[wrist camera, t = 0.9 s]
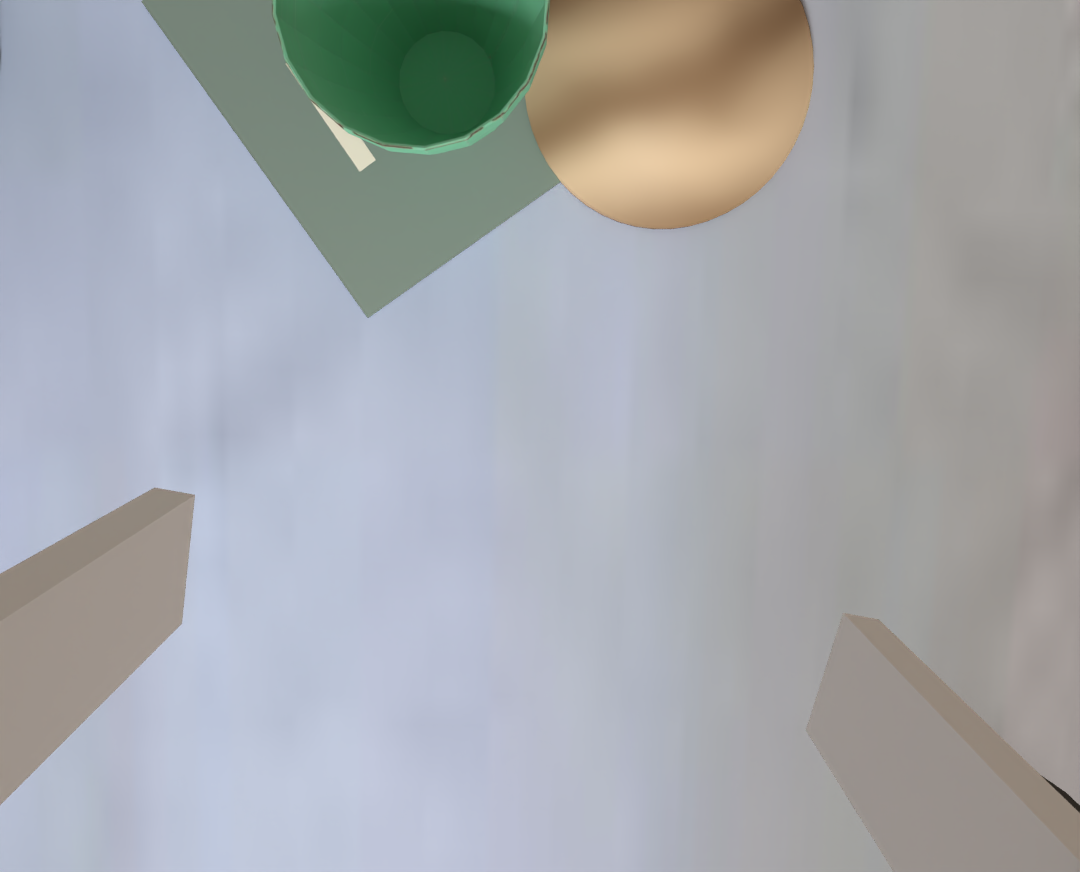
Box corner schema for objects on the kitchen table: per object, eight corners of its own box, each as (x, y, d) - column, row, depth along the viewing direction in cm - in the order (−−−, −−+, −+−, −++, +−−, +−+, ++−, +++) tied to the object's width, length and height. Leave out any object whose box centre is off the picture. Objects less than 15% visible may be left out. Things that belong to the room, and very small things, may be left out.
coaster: (467, 39, 34) (466, 34, 34) (714, -146, 33) (717, -154, 32) (623, 283, 36) (624, 283, 36) (860, 122, 35) (865, 119, 34)
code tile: (143, 2, 34) (141, 1, 34) (448, -243, 32) (448, -245, 32) (368, 317, 37) (367, 317, 37) (659, 111, 35) (660, 110, 35)
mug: (586, 49, 34) (604, -50, 24) (482, 228, 36) (460, 203, 26) (319, -132, 33) (223, -316, 23) (224, 64, 34) (96, -29, 24)
